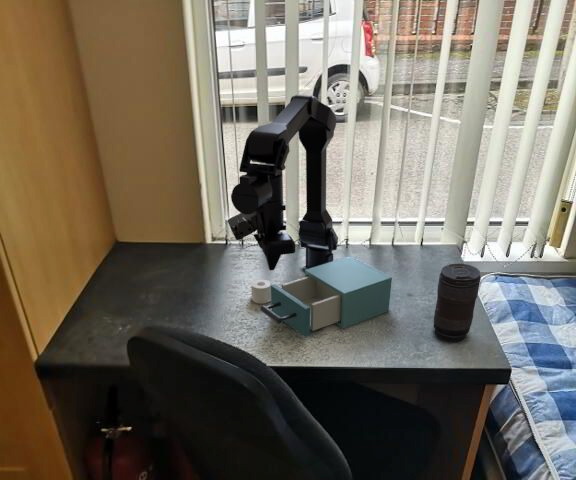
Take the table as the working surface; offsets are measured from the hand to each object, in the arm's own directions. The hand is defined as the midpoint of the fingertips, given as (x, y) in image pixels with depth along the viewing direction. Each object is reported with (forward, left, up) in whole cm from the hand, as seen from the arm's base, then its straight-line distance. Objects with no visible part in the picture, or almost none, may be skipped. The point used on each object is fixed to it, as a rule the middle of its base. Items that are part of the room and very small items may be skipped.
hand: (271, 269), depth 124 cm
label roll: (-8, +6, -12) cm, 15 cm away
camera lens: (+36, +16, -12) cm, 41 cm away
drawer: (+7, +2, -11) cm, 13 cm away
